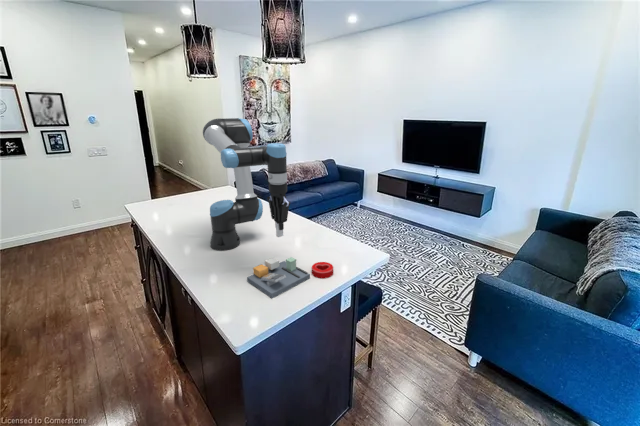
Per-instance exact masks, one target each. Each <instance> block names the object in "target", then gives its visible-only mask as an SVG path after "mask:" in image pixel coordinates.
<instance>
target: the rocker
mask: <svg viewBox="0 0 640 426" xmlns="http://www.w3.org/2000/svg"><path fill="white" fill-rule="evenodd" d="M283 278H286V275H283V274H274V273H269V274H267V275H265V276H263V277H262V278H261V280H264V281H271V282H277V281H279V280H281V279H283Z"/></svg>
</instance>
